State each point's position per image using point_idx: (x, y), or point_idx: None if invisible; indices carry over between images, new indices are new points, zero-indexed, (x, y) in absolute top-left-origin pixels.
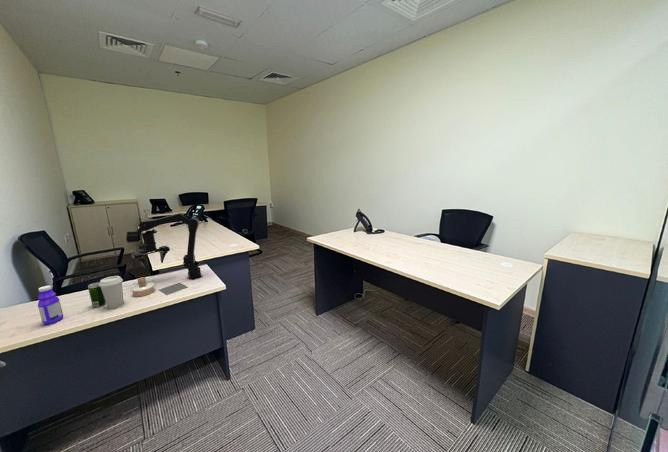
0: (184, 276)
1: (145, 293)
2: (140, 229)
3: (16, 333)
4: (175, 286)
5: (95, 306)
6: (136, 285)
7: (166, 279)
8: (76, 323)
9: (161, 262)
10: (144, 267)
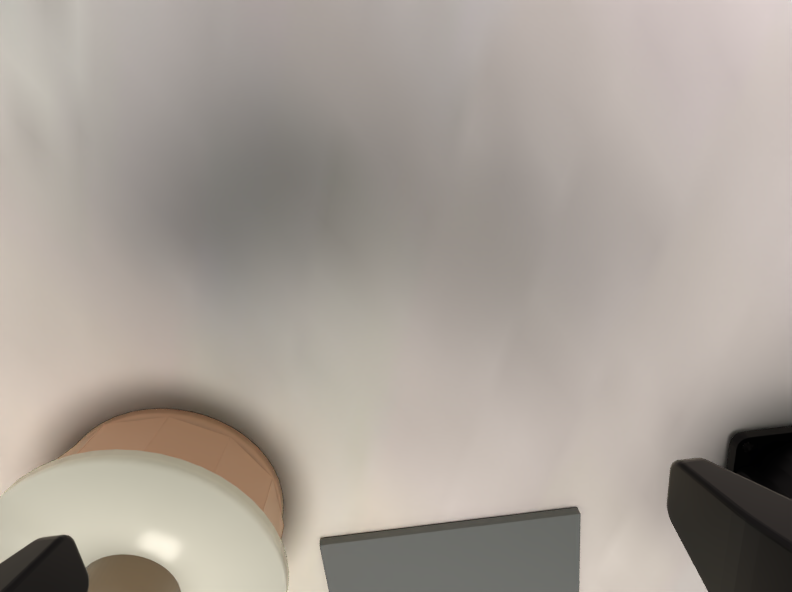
0: (747, 319)
1: None
2: None
3: None
4: (497, 589)
5: None
6: (37, 503)
7: (528, 223)
8: None
9: (683, 507)
10: (45, 551)
